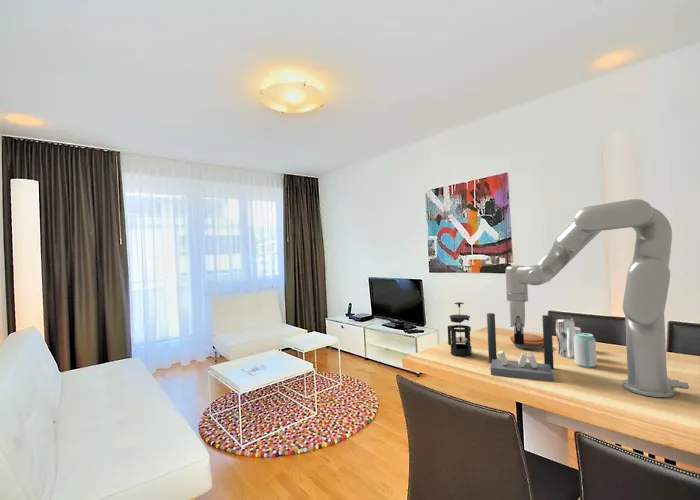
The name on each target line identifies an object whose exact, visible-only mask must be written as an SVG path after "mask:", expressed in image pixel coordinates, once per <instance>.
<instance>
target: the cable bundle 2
mask: <svg viewBox="0 0 700 500" xmlns="http://www.w3.org/2000/svg"><path fill="white" fill-rule="evenodd" d="M541 316H542V319H541V320H542V336H543V337H542V338H543V341H544V345H543V356H544V357H543V359H544V360H543V362H544V363H543V364H550V366H551V370H554V368H555V367H554V347H553V346H554V343H553V325H552V324H553V322H552V315H549V314H543V315H541Z"/></svg>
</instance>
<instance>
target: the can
mask: <svg viewBox="0 0 700 500" xmlns="http://www.w3.org/2000/svg"><path fill="white" fill-rule="evenodd" d="M596 342H597V341H596V338H595V337H594V334H592V333H590V332H589V333H587V332H580V333H576V334H575V336H574V363H575V364H576V365H577V366H579V367H583V368H588V369H589V368H590V369H591V368H594V367H596V366H598V365H597V364H598V363H597V343H596Z"/></svg>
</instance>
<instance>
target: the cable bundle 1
mask: <svg viewBox="0 0 700 500" xmlns="http://www.w3.org/2000/svg"><path fill="white" fill-rule="evenodd" d="M486 321H487V322H486V324H487V325H486V326H487V349H488V363H489V364H491V363H492V359H497V360H498V357H497V356H498V353H497V338H496V334H497V333H496V314H495V313H492V312H488V313H486Z"/></svg>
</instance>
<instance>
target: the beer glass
mask: <svg viewBox="0 0 700 500" xmlns="http://www.w3.org/2000/svg"><path fill="white" fill-rule="evenodd" d="M575 327H576V325H575V321H574V319H573V320H571V319H568V318H562V319H561V318H557V319H555V334H556V339H557V343H558V352H557V356H559V357H561V358H567V359H575V357H574V349H573V347H574V336H575Z"/></svg>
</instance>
